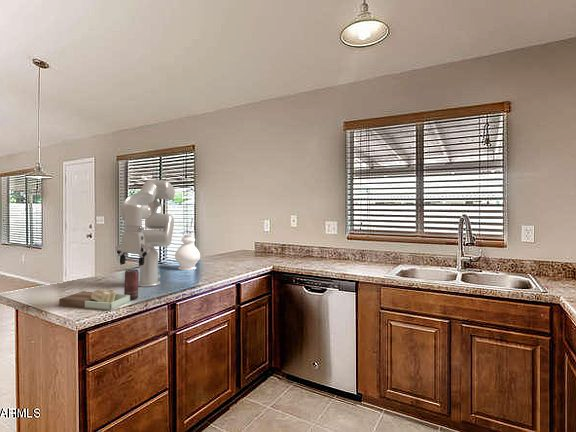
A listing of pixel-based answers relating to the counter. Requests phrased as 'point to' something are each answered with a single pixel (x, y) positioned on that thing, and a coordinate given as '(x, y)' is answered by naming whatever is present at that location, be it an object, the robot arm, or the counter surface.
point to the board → (76, 299)
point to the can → (131, 284)
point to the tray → (117, 302)
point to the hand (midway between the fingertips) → (131, 264)
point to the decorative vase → (187, 253)
